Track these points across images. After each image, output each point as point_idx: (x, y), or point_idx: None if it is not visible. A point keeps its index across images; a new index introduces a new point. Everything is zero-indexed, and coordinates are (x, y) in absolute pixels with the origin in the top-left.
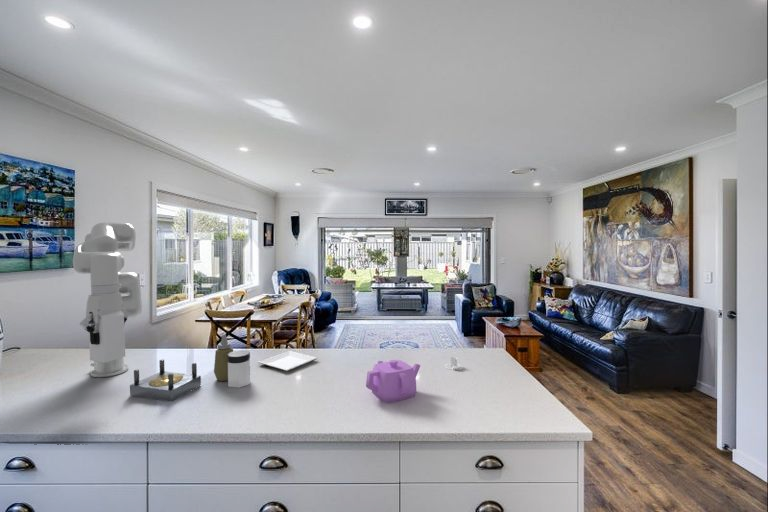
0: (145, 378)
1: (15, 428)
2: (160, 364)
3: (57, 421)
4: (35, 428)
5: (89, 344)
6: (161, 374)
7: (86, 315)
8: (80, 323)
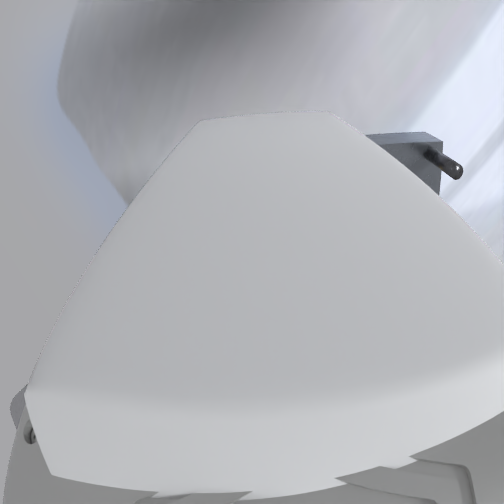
0: (382, 145)
1: (66, 94)
2: (443, 167)
3: (127, 133)
4: (89, 132)
5: (173, 151)
6: (421, 164)
7: (20, 469)
8: (15, 409)
